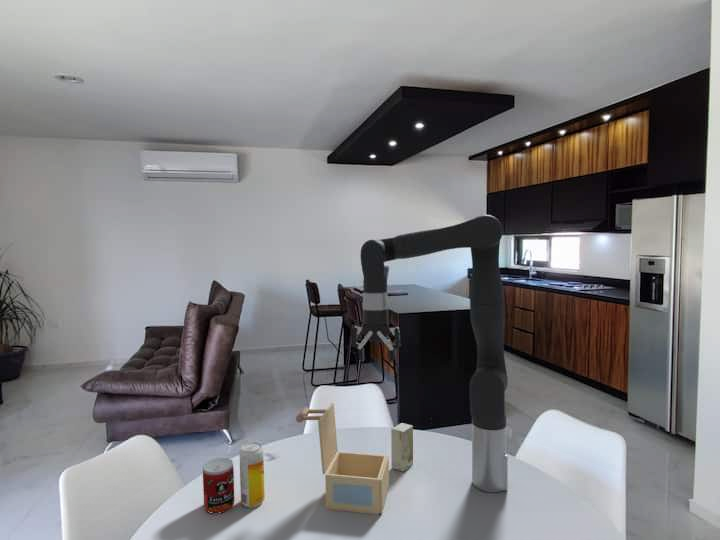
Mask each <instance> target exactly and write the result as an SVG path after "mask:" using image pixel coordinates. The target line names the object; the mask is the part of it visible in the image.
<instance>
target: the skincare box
mask: <svg viewBox="0 0 720 540" xmlns="http://www.w3.org/2000/svg"><path fill="white" fill-rule="evenodd" d="M390 434H391V436H390V437H391V438H390V439H391V440H390V442H391V458H390V459H391V463H390V464H391V469H394V470H397V471H400V472H405V471H406V470H407V469H409V468H410V467H412V466H413V465H414V425H412V424H408V423H404V422H401V423H399V424H397V425H395V426H394V427H392V428H391V433H390Z"/></svg>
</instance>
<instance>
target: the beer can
mask: <svg viewBox="0 0 720 540" xmlns="http://www.w3.org/2000/svg"><path fill="white" fill-rule="evenodd" d="M264 461H265V460H264V448H263V446H262V444H261V443H259V442H247V443H245V444H242V446H241V447H240V450H239V478H240V479H239V480H240V484H239V485H240V503H241V504H242V505H243V507H244V508H248V507H249V509H252V508H253V509H254V508H256V507H259V506H261V504H262V503H263V501H264V500H265V469H264V468H265V466H264Z"/></svg>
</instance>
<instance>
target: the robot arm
mask: <svg viewBox="0 0 720 540" xmlns="http://www.w3.org/2000/svg"><path fill="white" fill-rule="evenodd" d="M503 231H504V229H503V225H502V224H501V221H499V219H498V218H496V216H493V215H491V214H481V215H478V216H476V217H474V218H471V219H469V220H466V221H464V222H463V221H462V222H460V223H457V224H455V225H450V226H446V227H441V228H433V229H427V230H420V231H414V232H409V233H404V234H402V233H401V234H399V235H395V236H394V237H388V238H382V239H380V238H379V239H369V240H366V241H364V243H363V244H362V245H361V249H360V265H361V272H362V275H363V276H362V277H363V281H362V282H363V285H362V286H363V287H362V289H363V297H362V326H358V325H355V326H354V327H352V330H351V331H352V334H351V347H353V348H356V349H357V350H358V354H357V355H358V356H357V357H358V360H360V362H361V363H363V362H364V361H365V348H364V346H365V345H366V343H367V342H368V341H369V342H370V343H374V342H375V343H381V342H383V343H384V345H385V346H387V348H388V363H389V364H392V363H393V362H394V360H395V350H398V349H400V347H401V345H402V343H401V334H400V333H401V332H400V327H399V326H396V327H390V325H389V323H390V322H389V297H388V278H387V277H388V276H387V273H385V263H386V262H391V261H395V260H404V259H410V258H416V257H421V256H426V255H431V254H435V253H438V252H439V253H440V252H442V251H444V252H445V251H447V250H453V249H454V250H455V249H462V248H464V249H465V248H466V249H468V248H470V255H471V264H472V265H471V266H472V267H471V270H472V271H471V278H470V279H471V280H470V287H469V288H470V289H469V290H470V292H469V312H470V313H469V314H470V323H471V326H472V332H473V334H474V338H475V342H476V348H477V352H476V353H477V358H476V359H477V361H476V369H475V372H474V373H473V375H472V377H471V378H470V381H469V411H470V416H471V439H472V440H471V445H472V446H471V461H472V462H471V464H472V465H471V467H472V468H471V477H472V478H471V482H472V485H473V486H474V487H476V488H477V489H478V490H481V491H482V492H483V491H484V492H486V493H500V492H503V491H506V492H508V485H509V484H508V482H509V481H508V474H509V473H508V471H509V470H508V469H509V468H508V467H509V466H508V465H509V464H508V459H509V458H508V453H507V415H506V410H505V409H506V408H505V407H506V405H505V402H506V401H505V398H506V397H505V394H506V393H505V392H506V390H507V389H508V388H507V387H508V384H509V383H508V381H509V380H508V372H507V367H506V359H505V351H504V342H505V340H504V339H505V325H506V324H505V323H506V321H505V320H506V319H505V318H506V317H505V316H506V314H505V313H506V312H505V310H506V309H505V295H504V293H505V292H504V288H503V287H504V286H503V281H502V276H501V271H500V245H501V239H502V237H503ZM361 332H362V334H363V335H364V338H363V339H362V340H361V342H360V343H359V342H358V338H359V337H358V336H359V334H361ZM390 332H391V334H392V336H394V341H395V342H394V343H393V342H392V341H391V339H390V337H389V336H388V335H389V334H390Z"/></svg>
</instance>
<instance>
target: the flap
mask: <svg viewBox="0 0 720 540" xmlns="http://www.w3.org/2000/svg"><path fill="white" fill-rule="evenodd" d="M310 414H322V415H310ZM335 415H336V413H335V403H333V402H331V403H330V405H329V406H328V407H327V408H326V409H310V408H309V407H308V406H305V407H304V408H303V409H302V410H301V411H300V412H299V413H298V415H297V416H295V420H296V422H297V423H300V424H301V423H302V422H304V421H317V424H318V435H319V447H320V448H319V449H320V458H321V471H322V475H326V473H327V471H328V469H329V467H330V465H331V464H332V462H333V460H334V458H335V456H336V455H337V453H338V452H339V451H338V449H339V448H338V439H337V427H336V416H335Z"/></svg>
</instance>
